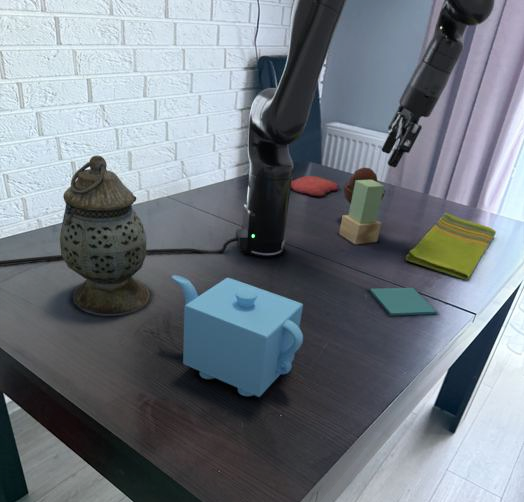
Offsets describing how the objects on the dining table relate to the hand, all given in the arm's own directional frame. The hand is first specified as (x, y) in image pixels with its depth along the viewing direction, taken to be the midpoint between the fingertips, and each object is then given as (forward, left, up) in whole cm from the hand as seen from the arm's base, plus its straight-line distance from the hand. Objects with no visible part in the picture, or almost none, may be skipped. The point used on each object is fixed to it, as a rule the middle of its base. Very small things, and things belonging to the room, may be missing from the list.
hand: (388, 158), depth 120 cm
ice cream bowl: (+1, +10, -20) cm, 22 cm away
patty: (-2, +40, -20) cm, 45 cm away
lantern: (-64, -28, -20) cm, 73 cm away
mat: (-7, -33, -20) cm, 39 cm away
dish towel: (+20, -7, -20) cm, 29 cm away
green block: (-3, 0, -15) cm, 15 cm away
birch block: (-3, 0, -20) cm, 20 cm away
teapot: (-46, -51, -20) cm, 72 cm away
